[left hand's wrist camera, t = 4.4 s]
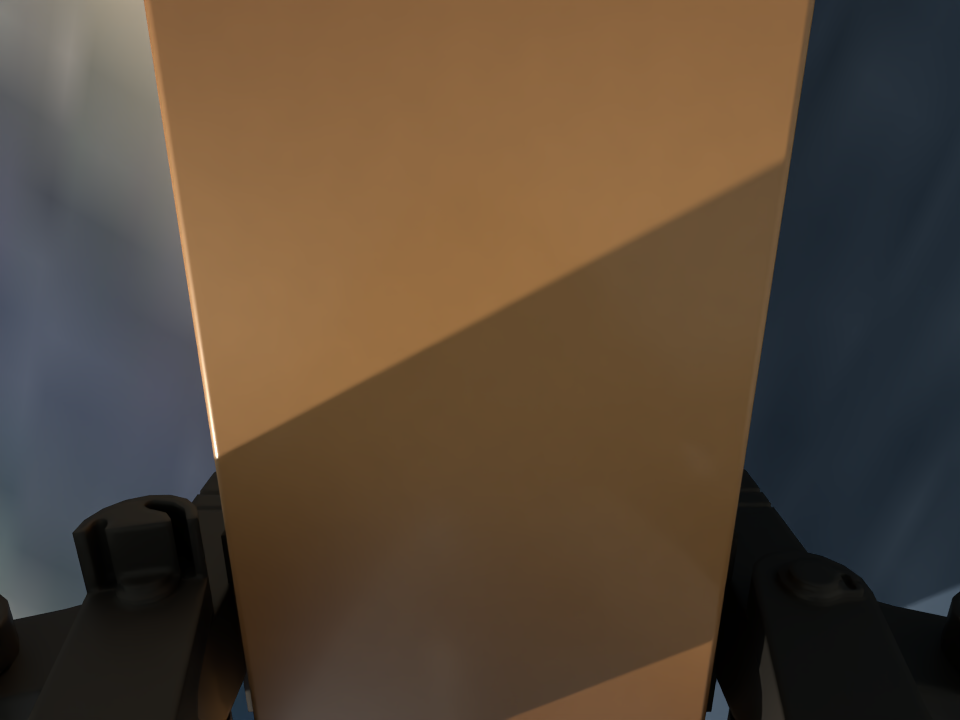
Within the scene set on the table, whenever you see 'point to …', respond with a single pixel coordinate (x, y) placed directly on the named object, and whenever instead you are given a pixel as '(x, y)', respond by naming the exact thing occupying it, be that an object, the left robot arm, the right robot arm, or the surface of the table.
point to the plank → (479, 336)
